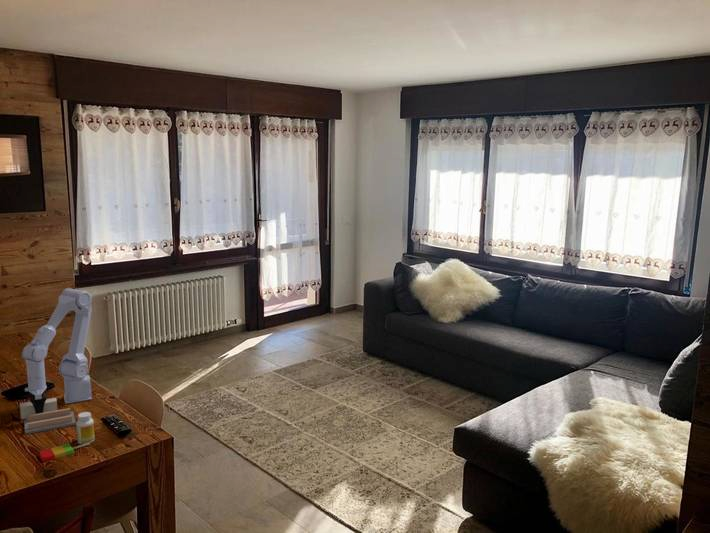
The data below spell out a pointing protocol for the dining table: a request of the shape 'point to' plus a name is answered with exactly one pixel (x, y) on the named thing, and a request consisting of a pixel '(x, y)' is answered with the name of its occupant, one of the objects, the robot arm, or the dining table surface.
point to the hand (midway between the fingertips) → (39, 410)
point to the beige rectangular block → (29, 409)
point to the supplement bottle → (85, 428)
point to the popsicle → (58, 452)
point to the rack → (49, 421)
